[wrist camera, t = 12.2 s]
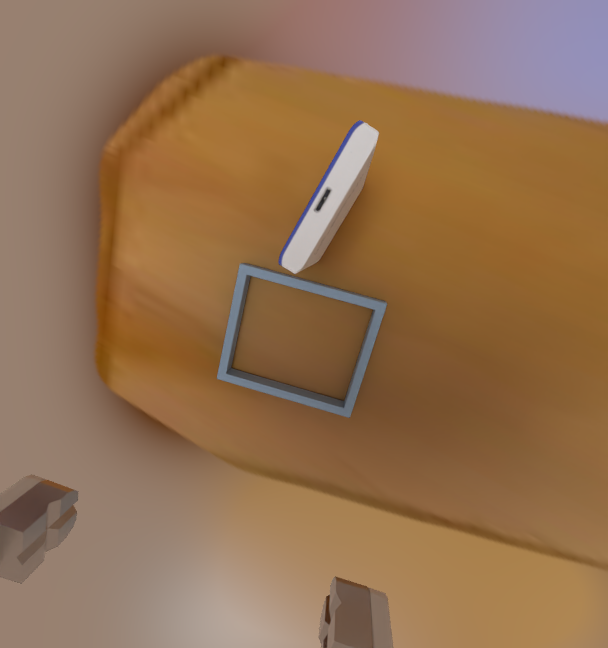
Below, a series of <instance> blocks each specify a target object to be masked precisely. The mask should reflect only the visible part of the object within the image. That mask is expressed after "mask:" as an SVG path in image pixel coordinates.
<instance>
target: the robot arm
mask: <svg viewBox="0 0 608 648" xmlns="http://www.w3.org/2000/svg"><path fill="white" fill-rule="evenodd" d="M77 501H78V491H76V490H73V489H70V488H68V487H65V486H62V485H60V484H57V483H54V482H52V481H49V480H46V479H43V478H40V477H38V476H35V475H29V476H26V477H24V478H22V479H21V480H19V481H18V482H17V483H15V484H14V485H12V486H11V487H9V488H8V489H7V490H5V491H4V492H3V493H1V494H0V577H2V578H5V579H8V580H11V581H14V582H17V583H22V582H24V581H25V579H27V577H28V576H29V575H30V574H31V573H32V572H33V571H34V570H35V569H36V568H37V567H38V566H39V565H40V564H41V563H42V562H43V561H44V558H45V554H46V552H47V551H49V550H51V549H53V548H55V547H57V546H58V545H60V543H61V542H62V541H63V540H64V539H65V538H66V537H67V535H68V534H69V532H70V531H71V529H72V528H73V526H74V523H75V521H76V516H77V511H76V509H75V507H74V505H73V504H74V503H75V502H77ZM319 639H320V642H321V644H322V646H321V648H393V641H392V632H391V625H390V616H389V606H388V598H387V596H386V594H385V593H383V592H380V591H377V590H374V589H371V588H368V587H367V586H364V585H361V584H357V583H354V582H351V581H348V580H345V579H342V578H338V577H334V578H333V580H332V583H331V586H330V595H328V596H327V597H326V600H325V602H324V605H323V610H322V615H321V621H320V629H319Z"/></svg>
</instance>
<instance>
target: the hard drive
mask: <svg viewBox="0 0 608 648" xmlns="http://www.w3.org/2000/svg"><path fill="white" fill-rule="evenodd" d="M378 134H379V132H378V131H377V130H376V129H374V128H372V127H371V126H369V125H368V124H367V123H364V122H363V121H357V122H356V123H355V124H354V125H353V126H352V127H351V129H350V130H349V132H348V134H347V136H346V137H345V139H344V141H343V143H342V144H341V146H340V148H339V150H338V152H337V153H336V155H335V157H334V159H333V160H332V162H331V164H330V166H329V168H328V169H327V171H326V173H325V175H324V176H323V178H322V180H321V182H320V184H319V185H318V187H317V189H316V191H315V193H314V194H313V196H312V198H311V200H310V202H309V203H308V205H307V207H306V209H305V211H304V212H303V214H302V216H301V217H300V219H299V221H298V223H297V225H296V226H295V228H294V230H293V232H292V234H291V235H290V237H289V239H288V241H287V243H286V244H285V246H284V248H283V250H282V252H281V254H280V257H279V265H281V266H283V267H284V268H286V269H288V270H289V271H291V272H292V273H294V274H296V273H298V272H300V271H302V270H304V269H305V268H307V267H309V266H311V265H313V264H315V263H317V262H318V261H319V260H320V259H321V257H322V255H323V254H324V252H325V250H326V249H327V247H328V245H329V244H330V242H331V240H332V239H333V237H334V235H335V234H336V232H337V230H338V229H339V227H340V225H341V224H342V222H343V220H344V219H345V217H346V215H347V214H348V212H349V210H350V209H351V207H352V205H353V204H354V202H355V200H356V199H357V197H358V195H359V194H360V192H361V190H362V189H363V186H364V183H365V179H366V176H367V173H368V170H369V167H370V163H371V160H372V157H373V154H374V151H375V147H376V143H377V139H378Z"/></svg>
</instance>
